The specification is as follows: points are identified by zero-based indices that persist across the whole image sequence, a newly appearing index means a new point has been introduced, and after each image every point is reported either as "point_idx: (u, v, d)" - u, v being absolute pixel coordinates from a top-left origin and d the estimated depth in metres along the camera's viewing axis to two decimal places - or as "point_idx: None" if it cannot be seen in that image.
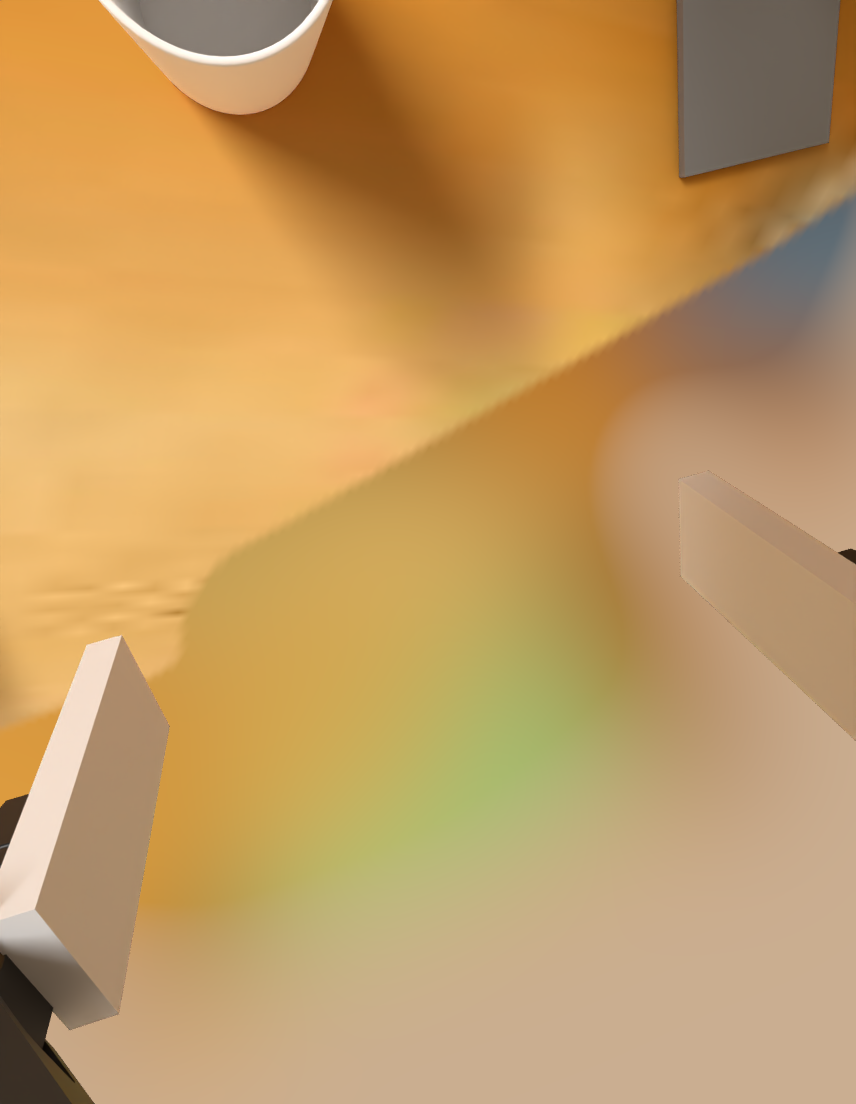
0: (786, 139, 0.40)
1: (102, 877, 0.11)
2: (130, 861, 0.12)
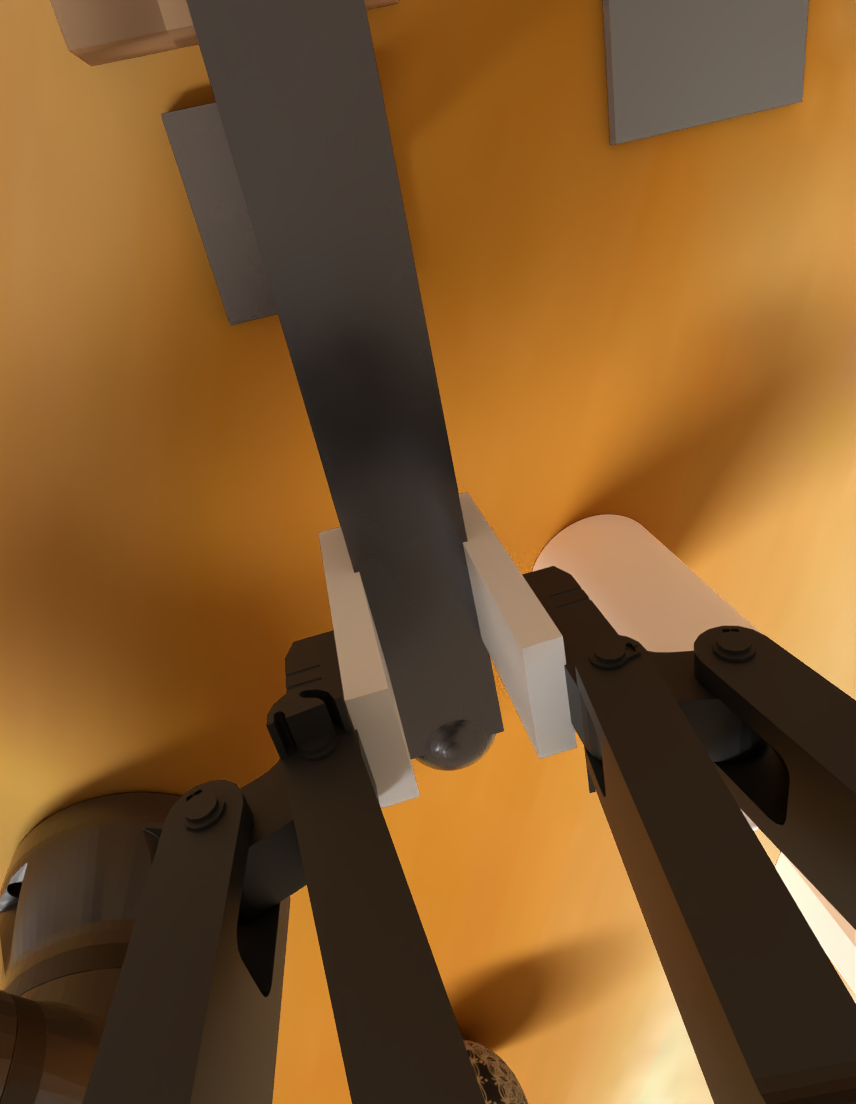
0: None
1: (392, 694, 0.14)
2: (393, 695, 0.15)
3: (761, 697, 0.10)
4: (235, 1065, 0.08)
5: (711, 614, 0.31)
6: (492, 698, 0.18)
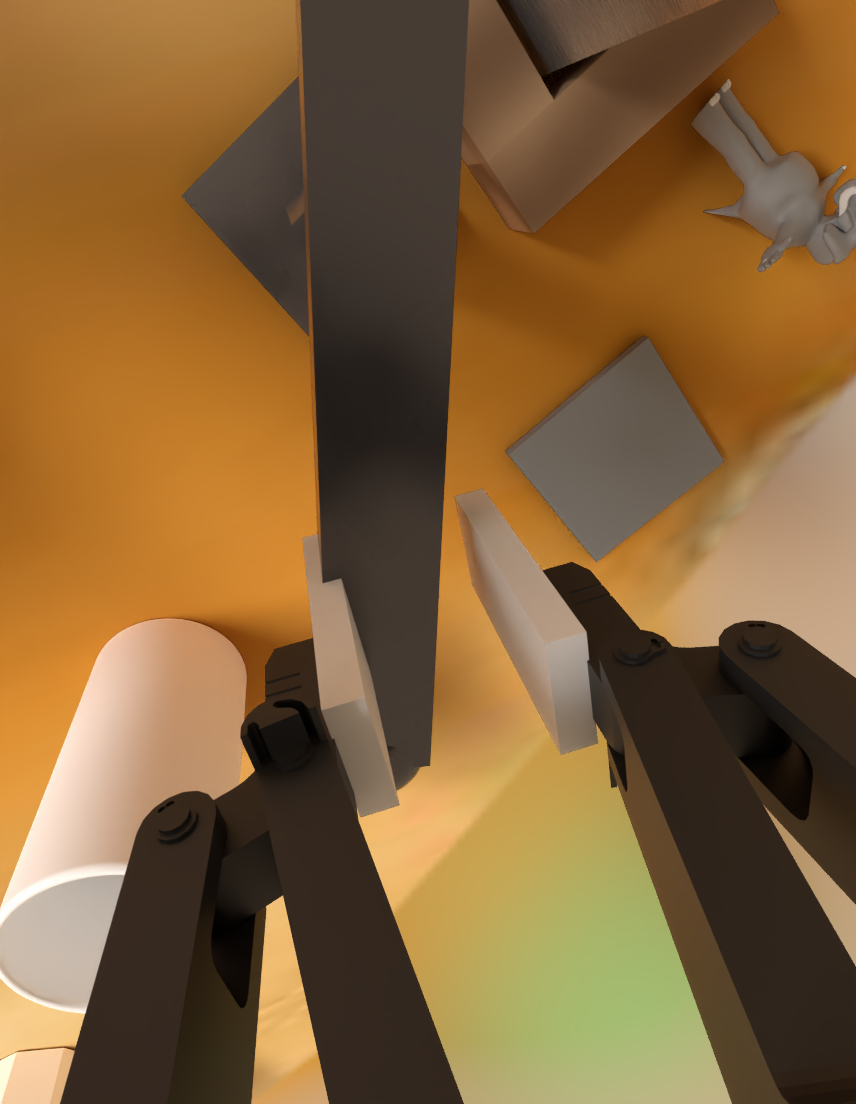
0: (679, 484, 0.39)
1: (372, 702, 0.14)
2: (375, 702, 0.15)
3: (787, 692, 0.10)
4: (212, 1077, 0.08)
5: (222, 793, 0.30)
6: (426, 730, 0.18)
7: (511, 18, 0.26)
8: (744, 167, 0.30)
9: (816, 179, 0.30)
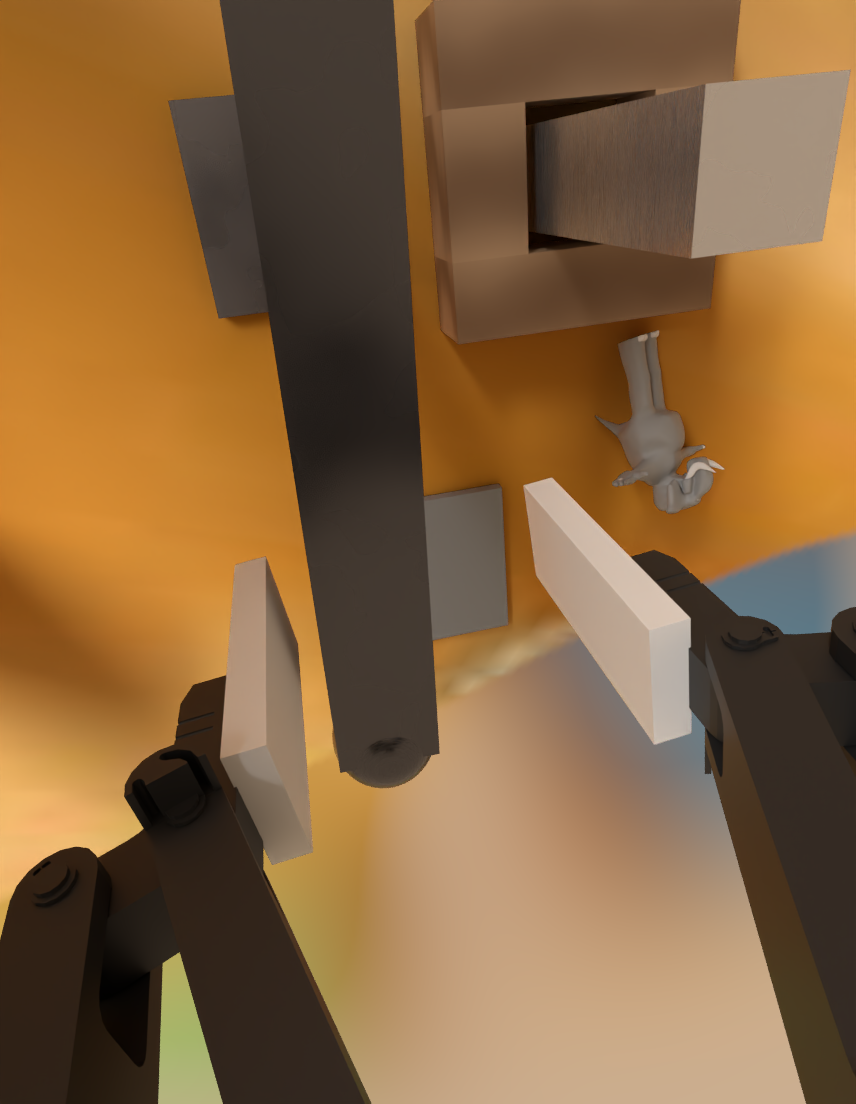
0: (464, 624, 0.41)
1: (289, 742, 0.13)
2: (298, 739, 0.14)
3: None
4: None
5: None
6: (432, 719, 0.18)
7: (529, 172, 0.29)
8: (639, 401, 0.34)
9: (682, 442, 0.35)
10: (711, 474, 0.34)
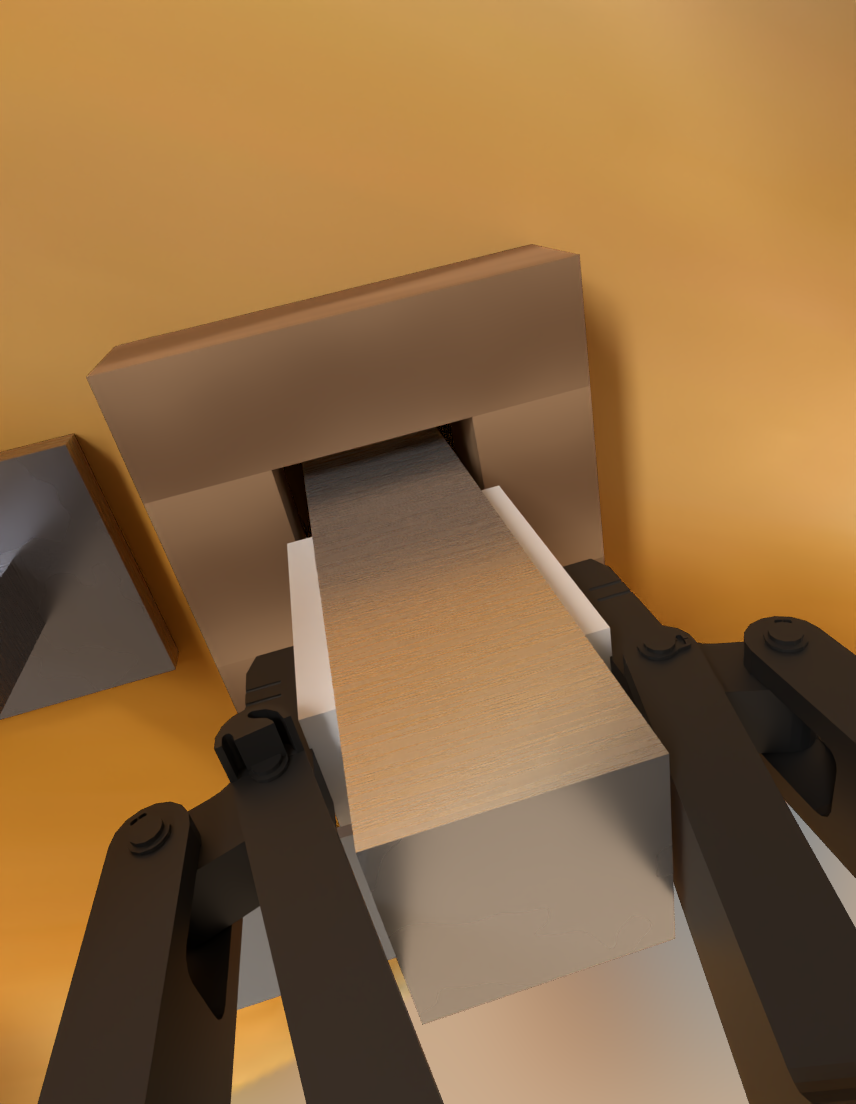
0: None
1: None
2: None
3: (812, 688, 0.10)
4: (188, 1090, 0.08)
5: None
6: None
7: None
8: None
9: None
10: None
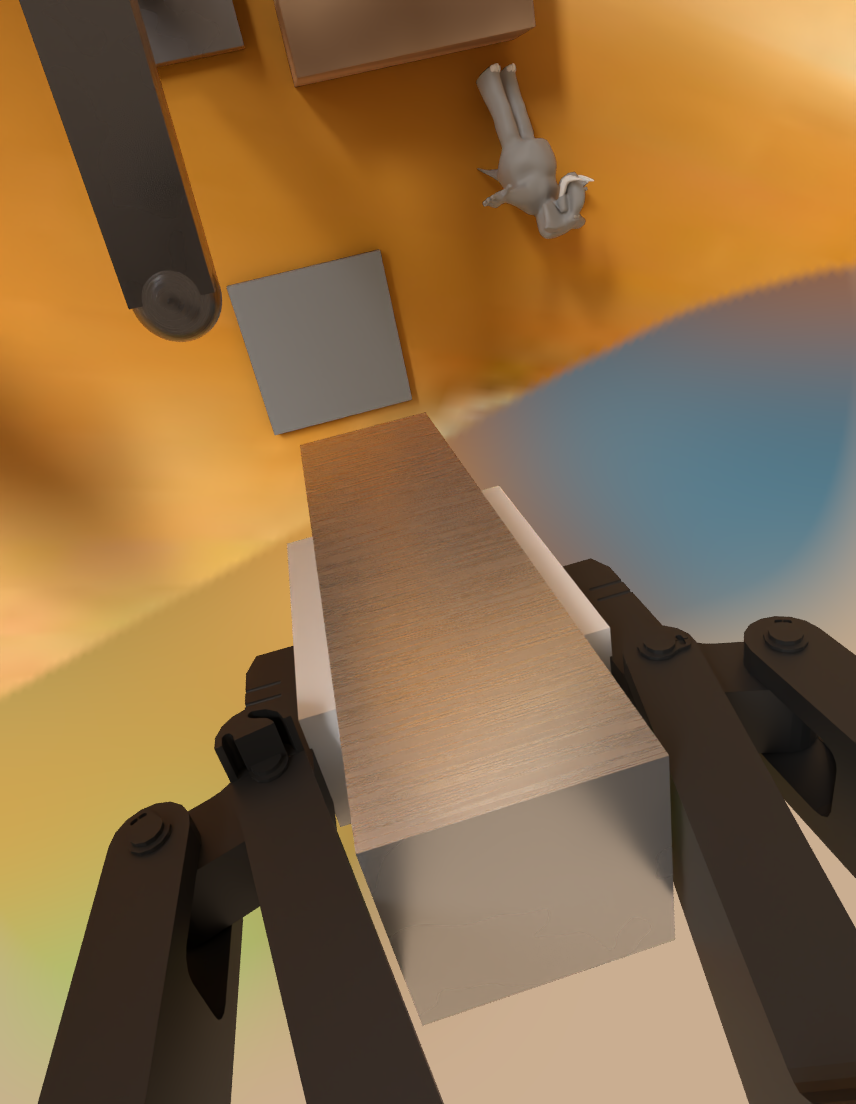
0: (369, 399, 0.44)
1: None
2: None
3: (812, 688, 0.10)
4: (188, 1090, 0.08)
5: None
6: (198, 251, 0.21)
7: None
8: (503, 131, 0.36)
9: (552, 164, 0.37)
10: (581, 186, 0.36)
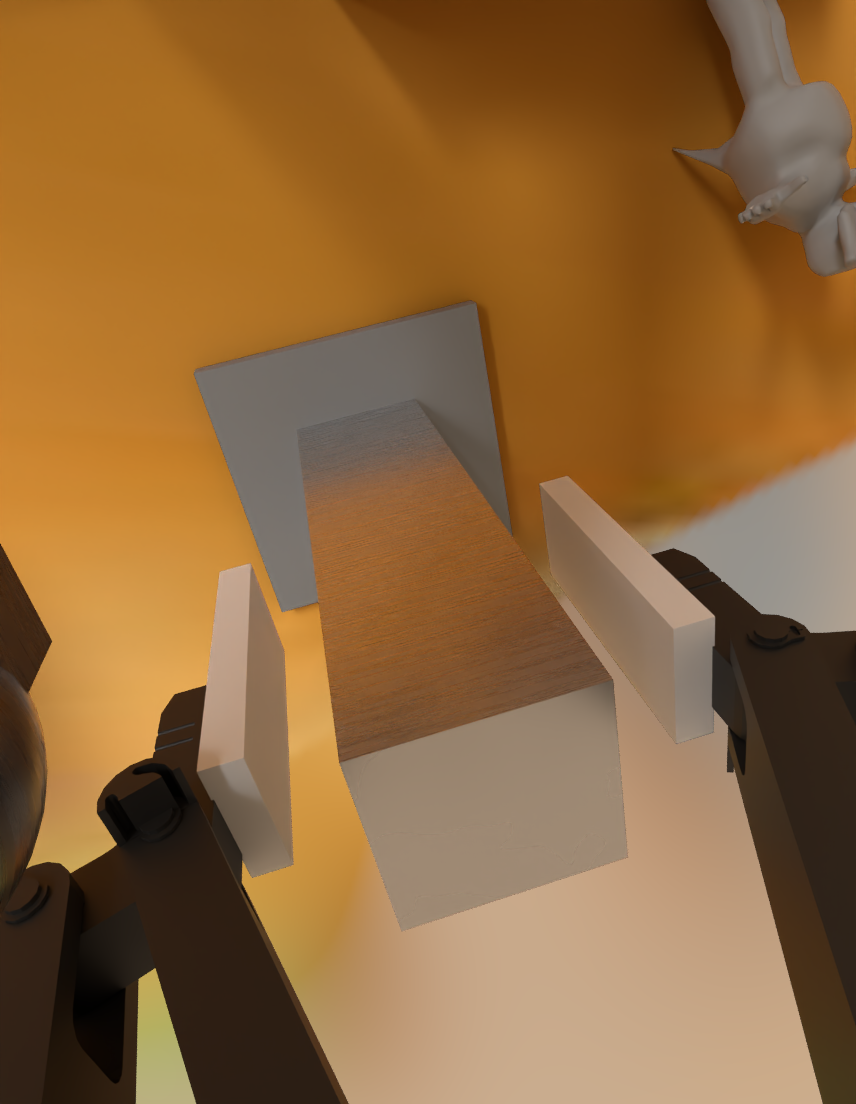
0: None
1: (270, 753, 0.13)
2: (281, 749, 0.14)
3: None
4: None
5: None
6: None
7: None
8: (756, 70, 0.18)
9: (850, 133, 0.19)
10: None
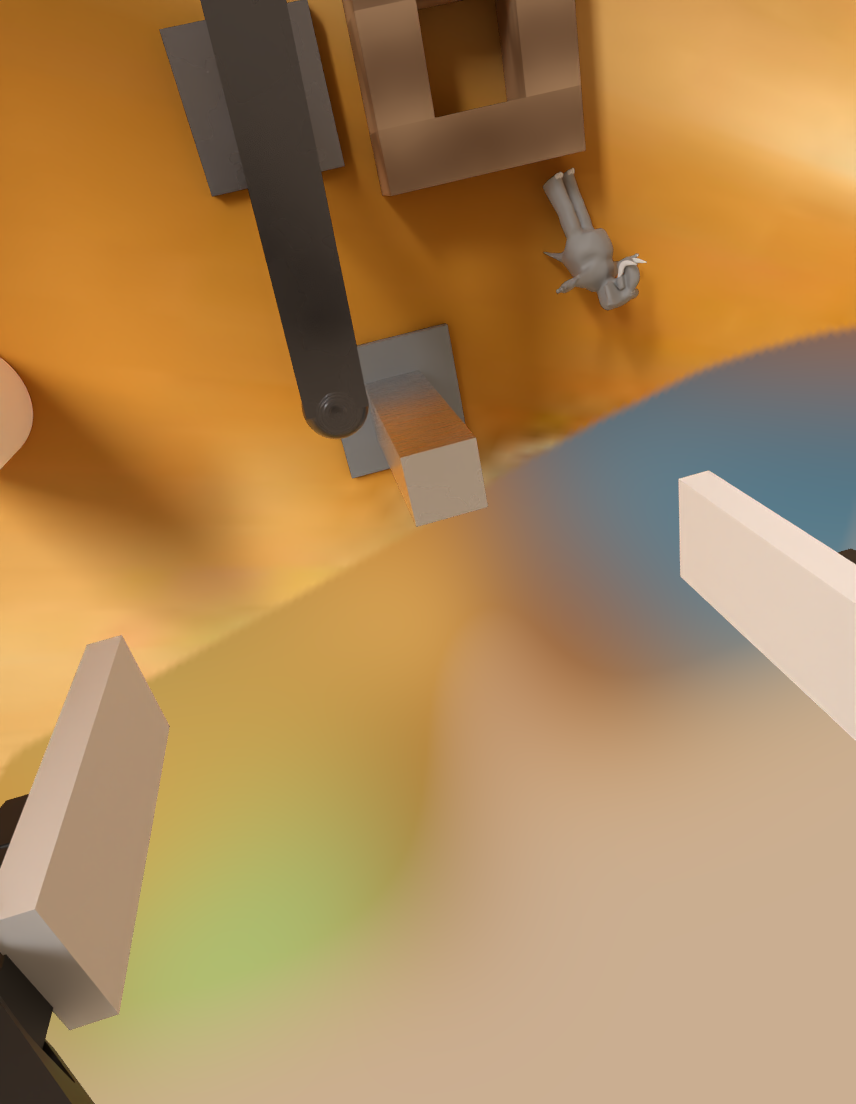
0: None
1: (102, 877, 0.11)
2: (130, 861, 0.12)
3: None
4: None
5: None
6: (359, 377, 0.28)
7: (372, 415, 0.47)
8: (568, 226, 0.44)
9: (610, 250, 0.44)
10: (636, 268, 0.43)
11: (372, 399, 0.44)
